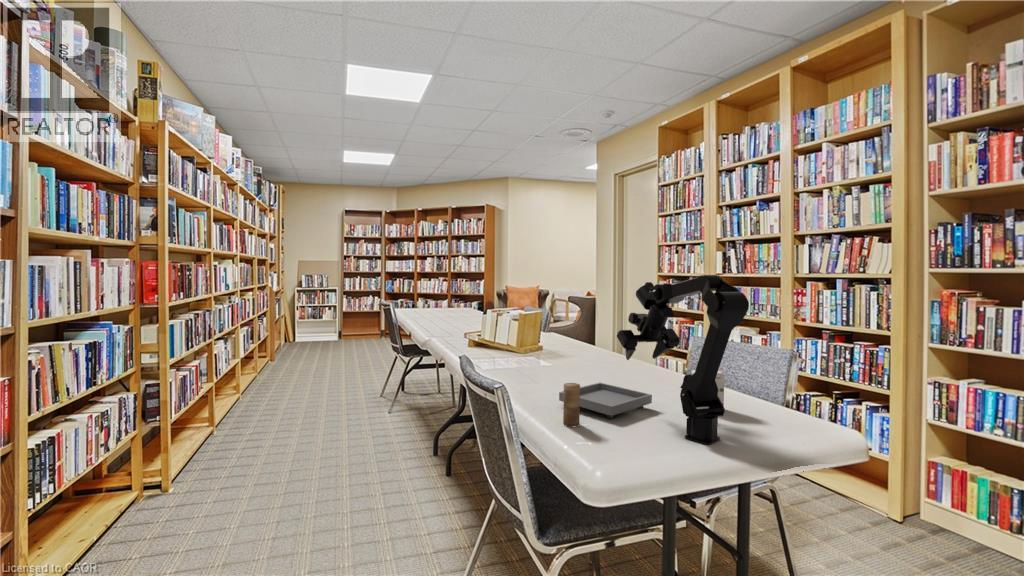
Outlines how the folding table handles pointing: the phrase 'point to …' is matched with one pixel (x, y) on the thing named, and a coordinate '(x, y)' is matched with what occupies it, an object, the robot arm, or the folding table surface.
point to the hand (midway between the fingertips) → (640, 358)
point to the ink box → (720, 386)
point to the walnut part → (571, 404)
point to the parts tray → (610, 399)
